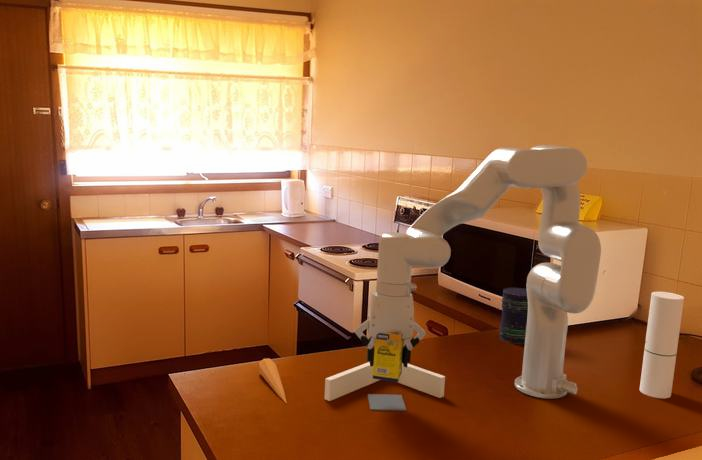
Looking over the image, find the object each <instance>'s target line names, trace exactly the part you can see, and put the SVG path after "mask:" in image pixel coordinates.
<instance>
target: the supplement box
mask: <svg viewBox="0 0 702 460" xmlns="http://www.w3.org/2000/svg"><path fill="white" fill-rule="evenodd" d="M402 337H403V334H400V333H378V334H377V335H376V338H375V344H374V349H375V350H374V365H373V379H379V381H385V382H387V381H388V382H393V383H394V382H395V383H398V380H399V377H400V375H401V373H402V361H403V347H404V340H403V339H402Z"/></svg>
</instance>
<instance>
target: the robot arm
mask: <svg viewBox="0 0 702 460" xmlns="http://www.w3.org/2000/svg"><path fill="white" fill-rule="evenodd" d="M587 169H588V161H587V158H586V156H585V154H584V153H583V152H582V151H581V150H579V149H577V148H576V147H572V146H571V147H570V146H561V145H550V144H549V145H548V144H539V145H536V146H532V147H531V148H530V149H529V148H519V147H499V148H496V149H494V150H493V151H492V152H491V153H490V154H488V155H487V157H486V158H485V159H484V160H482V162H481V163H480V164H479V165H478V167H476V169H474V171H473V172H472V173H471V174H469V176H468V177H467V178H466V179H465V180H464V181H463V182H462V183H461V185H460V186H459V187H457V189H456V190H454V191H453V192H451V193H449V194H448V195H446V196H445V197H443V198H442V199H441V200H439V201H437V202H436V203H434V204H433V205H432V206H430V207H428V208H427V209H426V210H425V211H424V212H423V213H421V215H420V216H419V217H417V219H416V220H415V221H414V222H413V223H412V224H411V225H410V226H409V227H408V228H407V230H406V231H405V232H397V231H396V232H393V231H391V232H389V231H388V232H384V233H382V234H381V235H380V236H379V239H378V251H377V252H378V253H377V254H378V256H377V270H376V271H377V272H376V273H377V274H376V283H375V285H376V286H375V287H376V288H375V291H372V293H371V296H370V301H369V309H368V314H367V319H366V320H365V321H363V322H362V323H361V324H359V325H358V326H356V327H355V329H354V333H355V335H356V336H357V338H359V339H360V342H362V343H363V344H364V345H365V347H367V350H366V352H367V353H366V362H370V366H373V365H374V350H375V338H376V335H377V334H378V333H400V334H403V337H402V339H403V340H404V342H405V346H404V347H403V361H402V363H403V365H404V367H407V365H408V364H410V363H411V358H412V355H411V354H412V351H413V349H414V348H415V346H417V345H418V344H419V343H420V342H421V341H422V340H423V339H424V338H425V336H426V335H427V333H426V331H425V330H424V329H423V328H422V327H421V326H420V325H419V323H417V322H416V321H415V308H414V297H413V294H412V291H417V289H418V287H417V286H418V285H417V284H416V283H413V282H411V280H412V268H413V267H414V268H415V267H416V268H424V269H430V270H431V269H434V270H435V269H439V268H441V267H444V266H445V265H446V264H447V263H448V262H449V260H450V258H451V252H452V249H451V246H450V245H449V243H448V241H447V240H445V238H443V237H442V236H443V235H444V234H445V233H447V232H448V231H450V230H451V229H453V228H454V227H456V226H458V225H461V224H464V223H467V222H471V221H475V220H478V219H480V218H482V217H484V216H486V214H487V213H488V212H489V211H490V210H491V209H492V208H493V207H494V206H495V204H496V203H497V202H498V201H499V200H500V199H501V198H502V197H503V196H504V195H505V194H506V193H507V192H508V190H510V188H512V187H513V188H519V189H540V190H541V195H542V210H541V215H540V216H541V217H540V223H539V224H540V225H539V232H538V240H537V243H538V249H539V250H540V252H541V253H542V254H543V255H545V256H546V257H548V258H551V259H553V260H556V261H559V262H561V265H560V264H557V263H554V262H540V263H539V264H536V265H535V266H533V267H532V268H531V270H530V271H529V273H528V274H527V277H526V284H525V285H526V289H527V299H528V315H527V326H526V336H525V344H524V348H523V349H524V350H523V359H522V368H521V369H522V371H521V375H519V376H518V377H516V378H515V379H514V386H515V388H516V389H517V390H518V391H519V392H521V393H523V394H526V395H529V396H530V397H534V398H538V399H539V398H540V399H551V400H552V399H559V398H563V397H565V396H566V395H567V394H573V395H576V394H577V392H578V386H577V383H576V382H573V381H570V380H569V381H568V379H567V374H566V373H564V363H565V353H566V342H567V333H568V326H569V325H568V324H569V321H568V320H569V317H568V313H569V314H581V313H583V312H584V311H586V310H587V309H588V308H589V307H590V305H591V303H592V302H593V300H594V297H595V294H596V293H595V292H596V289H597V288H596V287H597V282H598V275H599V268H600V264H601V263H600V262H601V255H602V245H601V241H600V237H599V235H598V234H597V233H596V231H595V230H594V229H593V228H592V227H590V226H588V225H585V224H580V212H581V201H582V200H581V192H580V188H579V185H578V183H579V182H580V181H581V180H582V179H583V178H584V177H585V175H586V173H587ZM365 330H367V331H368V335H369V337H368V336H366V335H365V334H364V333H363V332H364V331H365ZM414 331H416V332H417V333H416V334H415V336H414ZM410 338H411V340H409V339H410Z"/></svg>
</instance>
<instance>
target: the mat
mask: <svg viewBox="0 0 702 460" xmlns="http://www.w3.org/2000/svg"><path fill="white" fill-rule="evenodd" d="M367 400H368V405H369V410H370V411H378V412H379V411H381V412H383V411H384V412H385V411H386V412H387V411H388V412H389V411H390V412H393V411H394V412H395V411H396V412H407V408H406V404H405V402H404V399H403V395H402V394H387V393H386V394H385V393H384V394H381V393H380V394H379V393H377V394H376V393H373V394H372V393H367Z"/></svg>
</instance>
